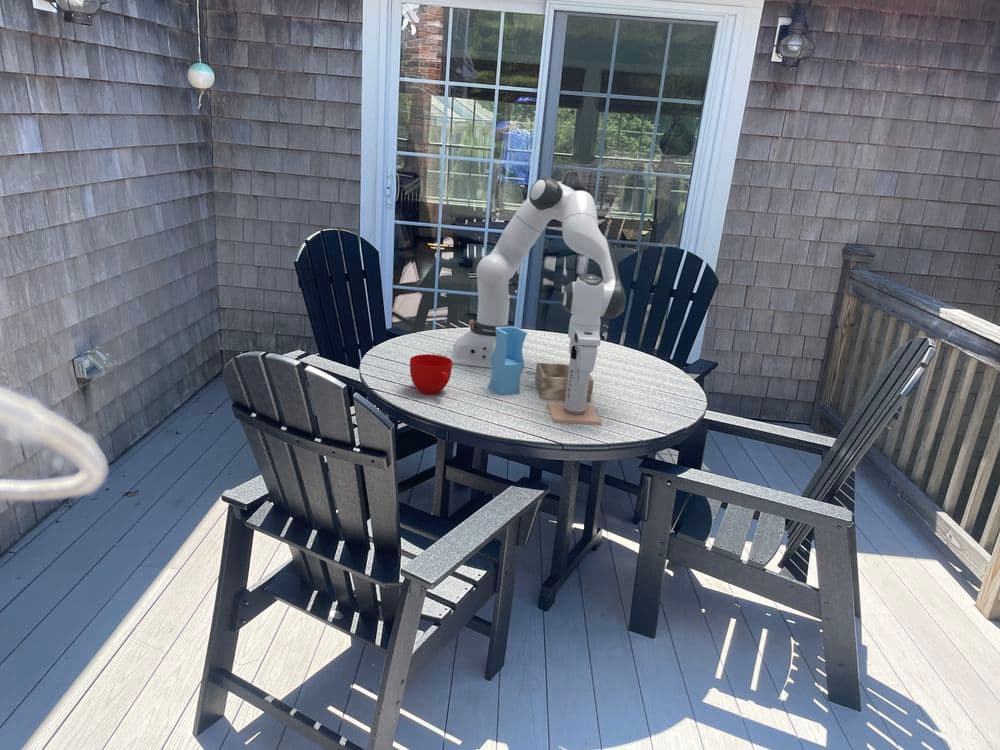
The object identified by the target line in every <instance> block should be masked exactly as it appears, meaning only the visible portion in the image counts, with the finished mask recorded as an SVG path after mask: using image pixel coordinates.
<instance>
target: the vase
mask: <svg viewBox="0 0 1000 750" xmlns="http://www.w3.org/2000/svg"><path fill="white" fill-rule="evenodd" d="M495 329H496V347H495V350H494V352H493V354H492V356H491V360H490V361H491V368H490V369H491V377H490V381H489V384H488V385H487V386H488V388H489V389H490V390H492V391H493V392H494V393H495V394H497V395H501V396H504V395H505V396H507V395H516V394H520V380H521V376H522V373H523V370H524V368H525V361H524V356H523V347H524V342H525V339H526V337H527V335H528V332H527V331H526V330H524V329H521V328H520V327H518V326H515V325H514V326H513V325H512V326H510V325H509V327H496V328H495Z"/></svg>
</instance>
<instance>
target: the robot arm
mask: <svg viewBox="0 0 1000 750" xmlns="http://www.w3.org/2000/svg"><path fill="white" fill-rule="evenodd" d="M552 220H556V221H558V223H559V224H561V233H562V239H563V242H564V243H565V244H566V247H568V248H569V249H570V250H572V251H573V252H575V253H577V254H580V255H583V256H584V257H587V258H589V259H591V260H593V261H594V262H596V263H597V264H598V265H599V267H600V270H601V271H600V272H601V274H602V278H601V277H600V276H597V275H595V274H589V273H588V274H587V273H586V274H581V275H579V276H578V277H577V278H576V281H571V282H569V283H568V284H567V285H566V286H564V289H563V296H562V302H561V304H562V305H561V306H562V307H563V308H564V310H565V311H566V312H568V313H570V314H571V316H570V319H569V325H568V333H567V337H568V338H569V339H570V341H569V345H568V353H569V355H570V356H571V349H572V346H574V345H575V347H574V348H575V350H576V351H577V355H576V361H575V362H576V365H577V367H578V369H579V372H580V373H579V376H578V383H579V384H584V383H585V378H586V375H587V372H588V373H590V374H591V373H592V372H593V371H594V368H595V364H596V360H597V354H598V347H600V346H601V341H602V339H601V336H600V333H601V324H602V321H601V317H602V318H607V319H615V318H617V317H619V315H621V314H622V313H624V312H625V309H626V304H627V298H626V293H625V292H626V291H625V289H624V286H623V284H622V282H621V279H620V275H619V270H618V267H617V261H616V257H615V254H614V251H613V247H612V243H611V242H610V240H609V239H608V238H607V237H605V236H604V235H603V233H602V231H601V230H600V227H599V222H598V220H599V219H598V211H597V207H596V202H595V200H594V197H593V195H592V194H590V193H589V192H588V191H585V190H574V189H573V188H572V187H570V186H567V185H566V184H563V183H561V182H559V181H557V180H556V179H555V178H552V177H548V176H542V177H540V178H538V179H537V180H536V181H534V183H533V184H532V186H531V187H530V191H529V196H528V197H527V198H526V199H525V200H524V201H523V202H522V203H521V205H520V206H519V208H518V209H517V210H516V211H515V213H514V215H513V216H512V217H511V219H510V220H509V222H508V224H507V225H506V226H505V227H504V229H503V231H502V233H501V235H500V237H499V239H498V241H497V242H496V244H495V246H494V247H493V249H492V251H490V253H489V254H488V255H486V256H484V257H482V258H481V259H480V261H479V262H478V264H477V267H476V271H475V273H476V274H475V275H476V278H477V280H476V281H477V297H478V299H477V300H478V301H477V313H476V315H477V317H476V320H474V319H469V321H468V323H469V326H470V330H469V331H468V332H466V333H465V334H462V335H461V336H459V337H458V338H457V339H456V340H455V341H454V344H453V348H452V350H449V351H448V352H447V353H446V355H445V357H447V358H449V359H451V360H452V364H455V365H463V366H471V367H480V368H486V369H487V368H488V369H492V368H491V361H490V360H491V356H492V354H493V352H494V350H495V347H496V329H495V328H496V327H509V326H510V325H509V322H508V321H509V315H510V314H509V313H510V304H511V303H510V296H509V295H510V293H509V281H510V280H511V279H512V278H513V277H514V275H515V274H516V272H517V271H518V270H519V268H520V266H521V264H523V261H524V260H525V258H526V256H527V255H528V253H529V252H530V250H531V249H532V247H533V246H534V245H535V243H536V242H537V240H538V238H539V237H540V236H541V234H542V233H543V231H544V230H545V228H546V227H547V225H548V224H549V223H550V221H552Z"/></svg>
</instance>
